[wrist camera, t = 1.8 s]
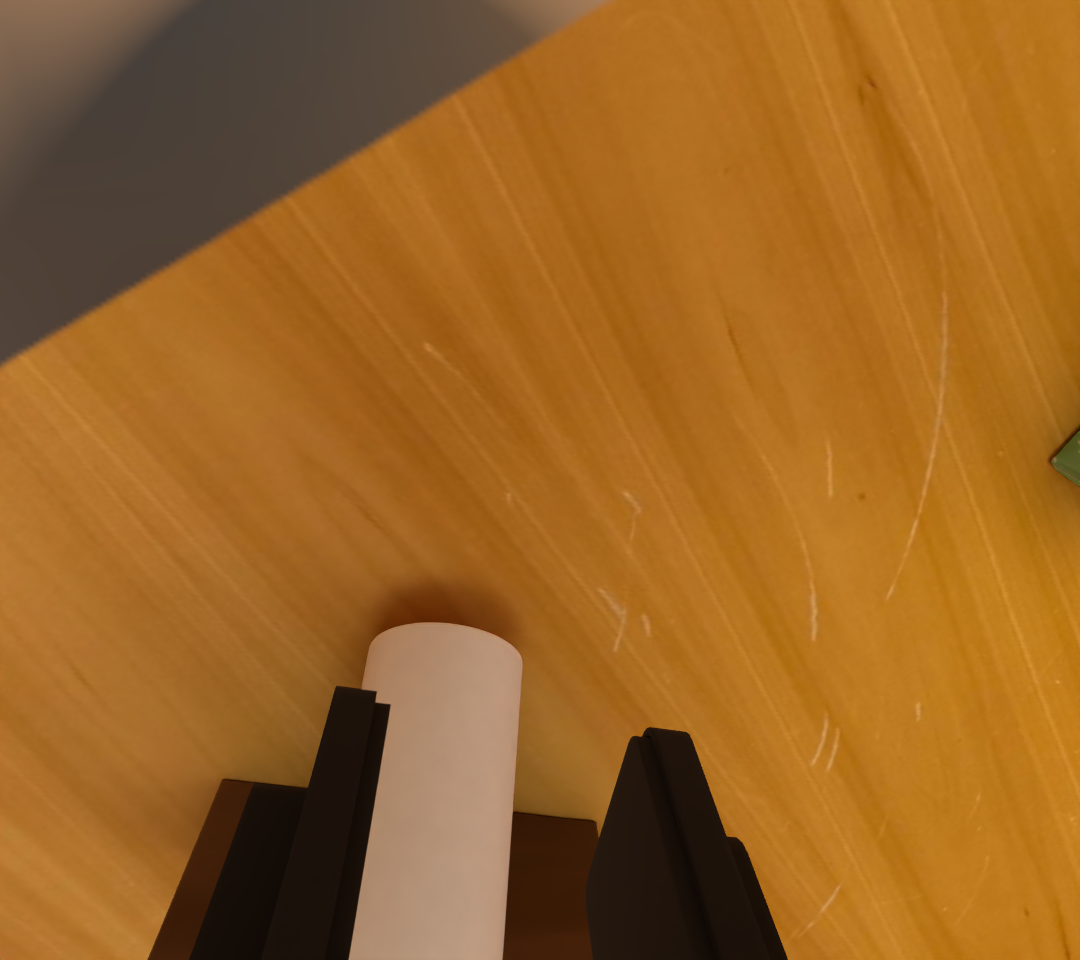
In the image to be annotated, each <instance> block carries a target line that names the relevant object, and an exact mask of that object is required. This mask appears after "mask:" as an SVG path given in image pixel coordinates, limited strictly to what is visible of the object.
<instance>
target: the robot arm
mask: <svg viewBox="0 0 1080 960" xmlns="http://www.w3.org/2000/svg"><path fill="white" fill-rule="evenodd" d="M376 695H377V691H372V690H364V689H356V688H349V687H341V686H336V688H335V691H334V695H333V699H332V702H331V706H330V710H329V713H328V717H327V721H326V724H325V728H324V731H323V735H322V739H321V742H320V746H319V750H318V753H317V757H316V761H315V764H314V768H313V772H312V775H311V779H310V783H309V786H308V789H306V788H297V787H289V786H280V785H271V784H262V783H255V784H254V785H253V787H252V789H251V791H250V794H249V796H248V799H247V801H246V804H245V807H244V810H243V812H242V815H241V818H240V821H239V823H238V826H237V829H236V832H235V834H234V837H233V840H232V843H231V845H230V848H229V851H228V854H227V856H226V859H225V862H224V865H223V867H222V870H221V873H220V876H219V878H218V881H217V884H216V887H215V889H214V892H213V895H212V898H211V900H210V903H209V906H208V909H207V911H206V914H205V917H204V920H203V922H202V925H201V928H200V931H199V933H198V936H197V939H196V942H195V944H194V947H193V950H192V953H191V955H190V958H189V960H349V955H350V949H351V943H352V937H353V931H354V925H355V919H356V913H357V907H358V901H359V895H360V889H361V883H362V877H363V871H364V865H365V859H366V852H367V846H368V840H369V834H370V828H371V822H372V816H373V810H374V804H375V798H376V792H377V786H378V780H379V774H380V768H381V762H382V756H383V750H384V744H385V738H386V731H387V725H388V719H389V713H390V707H391V704H384V703H377V702H375V701H376ZM585 906H586V914H587V921H588V929H589V936H590V943H591V950H592V958H593V960H788V958H787V956H786V953H785V951H784V948H783V945H782V943H781V940H780V937H779V935H778V932H777V929H776V927H775V924H774V921H773V919H772V916H771V914H770V911H769V908H768V906H767V903H766V900H765V898H764V895H763V892H762V890H761V887H760V884H759V882H758V879H757V877H756V874H755V871H754V869H753V866H752V863H751V861H750V858H749V855H748V853H747V851H746V849H745V847H744V845H743V843H742V842H741V841H740V840H739V839H738V838H736V837H727V836H726V834H725V831H724V828H723V825H722V823H721V820H720V817H719V814H718V811H717V809H716V806H715V803H714V800H713V797H712V795H711V792H710V789H709V786H708V783H707V781H706V778H705V775H704V772H703V769H702V767H701V764H700V761H699V758H698V755H697V752H696V750H695V747H694V744H693V741H692V739H691V737H690V735H689V734H688V733H687V732H682V731H675V730H667V729H659V728H652V727H649V728H647V729H646V730H645V731H644V733H643V736H642V737H638V736H633V737H632V738H631V739H630V741H629V744H628V747H627V750H626V753H625V756H624V760H623V763H622V766H621V769H620V773H619V776H618V779H617V782H616V786H615V789H614V792H613V795H612V798H611V802H610V805H609V808H608V811H607V815H606V818H605V821H604V824H603V828H602V831H601V834H600V837H599V840H598V844H597V847H596V850H595V853H594V857H593V860H592V863H591V866H590V869H589V873H588V876H587V881H586V889H585Z"/></svg>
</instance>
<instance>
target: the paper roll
mask: <svg viewBox="0 0 1080 960" xmlns="http://www.w3.org/2000/svg"><path fill="white" fill-rule="evenodd" d="M522 667H523V662H522V658H521V656H520V654H519V652H518V651H517V650H516V649H515V647H514V646H512V645H511V644H510V643H509V642H507V641H505V640H504V639H502V638H500V637H498V636H496V635H494V634H492V633H489V632H487V631H484V630H480V629H477V628H473V627H469V626H464V625H459V624H451V623H439V622H423V623H412V624H405V625H401V626H397V627H394V628H391V629H388V630H386V631H384V632H382V633H381V634H379V635H378V636H377V637H376V638H375V639H374V640H373V641H372V643H371V644H370V647H369V652H368V657H367V662H366V667H365V672H364V678H363V683H362V688H361V689H364V690H372V691H377V695H376V701H375V702H377V703H384V704H391V707H390V713H389V719H388V725H387V731H386V738H385V744H384V750H383V756H382V762H381V768H380V774H379V780H378V786H377V792H376V798H375V804H374V810H373V816H372V822H371V828H370V834H369V840H368V846H367V852H366V859H365V865H364V871H363V877H362V883H361V889H360V895H359V901H358V907H357V913H356V919H355V925H354V931H353V937H352V943H351V949H350V955H349V960H503V946H504V932H505V917H506V902H507V888H508V873H509V858H510V844H511V829H512V814H513V799H514V785H515V770H516V755H517V741H518V726H519V711H520V697H521V682H522Z"/></svg>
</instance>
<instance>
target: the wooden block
mask: <svg viewBox="0 0 1080 960" xmlns="http://www.w3.org/2000/svg"><path fill="white" fill-rule="evenodd" d="M254 784H255V783H248V782H239V781H230V780H222V782H221V784H220V786H219V788H218V791H217V793H216V796H215V798H214V801H213V803H212V805H211V808H210V810H209V813H208V815H207V817H206V820H205V822H204V825H203V827H202V829H201V832H200V834H199V837H198V839H197V842H196V844H195V846H194V849H193V851H192V854H191V856H190V858H189V861H188V863H187V866H186V868H185V871H184V873H183V875H182V878H181V880H180V883H179V885H178V887H177V890H176V892H175V895H174V897H173V899H172V902H171V904H170V907H169V909H168V912H167V914H166V916H165V919H164V921H163V924H162V926H161V928H160V931H159V933H158V936H157V938H156V940H155V943H154V945H153V948H152V950H151V953H150V955H149V957H148V960H189V958H190V955H191V953H192V950H193V947H194V944H195V942H196V939H197V936H198V933H199V931H200V928H201V925H202V922H203V920H204V917H205V914H206V911H207V909H208V906H209V903H210V900H211V898H212V895H213V892H214V889H215V887H216V884H217V881H218V878H219V876H220V873H221V870H222V867H223V865H224V862H225V859H226V856H227V854H228V851H229V848H230V845H231V843H232V840H233V837H234V834H235V832H236V829H237V826H238V823H239V821H240V818H241V815H242V812H243V810H244V807H245V804H246V801H247V799H248V796H249V794H250V791H251V789H252V787H253V785H254ZM598 840H599V837H598V831H597V825H596V823H595V822H590V821H581V820H572V819H564V818H555V817H546V816H537V815H529V814H520V813H513V814H512V829H511V844H510V858H509V873H508V888H507V902H506V917H505V932H504V946H503V960H593V958H592V950H591V943H590V936H589V929H588V921H587V914H586V906H585V889H586V881H587V876H588V873H589V869H590V866H591V863H592V860H593V857H594V853H595V850H596V847H597V844H598Z"/></svg>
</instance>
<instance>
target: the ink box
mask: <svg viewBox="0 0 1080 960" xmlns="http://www.w3.org/2000/svg"><path fill="white" fill-rule="evenodd" d="M1051 463H1052V465H1053V467H1054V468H1055V469H1056V470H1057V471H1058V472H1060V473H1061V474H1062V475H1064V476H1065V477H1066V478H1068V479H1069V480H1071V481H1072V482H1073V483H1075V484H1076V485H1078V486H1079V487H1080V430H1079V431H1078V432H1077V434H1076V435H1075V436H1074V437H1073V438H1072V439H1071V440H1070V441H1069V442H1068V443H1067V444H1066V445H1065V446H1064V447H1063V449H1062V450H1061V451H1060V452H1059V453H1058V454H1057V455H1056V456H1055V457H1054V458H1053V459H1052V460H1051Z"/></svg>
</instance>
